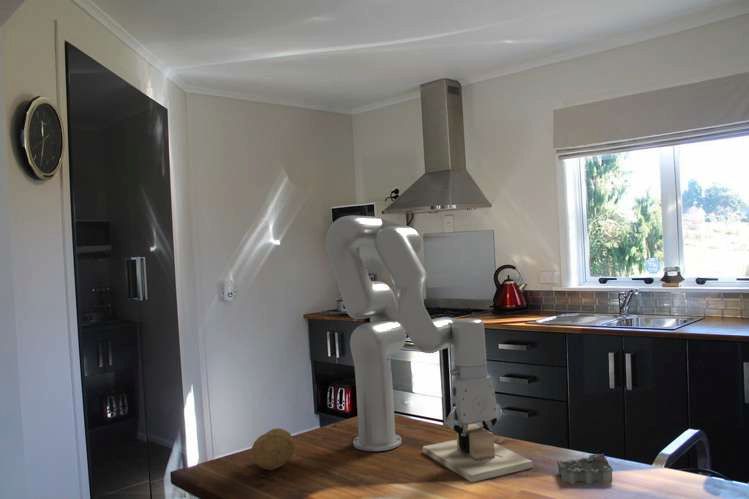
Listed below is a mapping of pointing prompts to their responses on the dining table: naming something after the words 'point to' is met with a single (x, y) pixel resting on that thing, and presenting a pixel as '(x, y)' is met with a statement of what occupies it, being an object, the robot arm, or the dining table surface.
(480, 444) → the block
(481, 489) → the dining table surface
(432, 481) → the dining table surface
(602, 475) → the egg carton
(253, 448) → the potato
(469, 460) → the board
